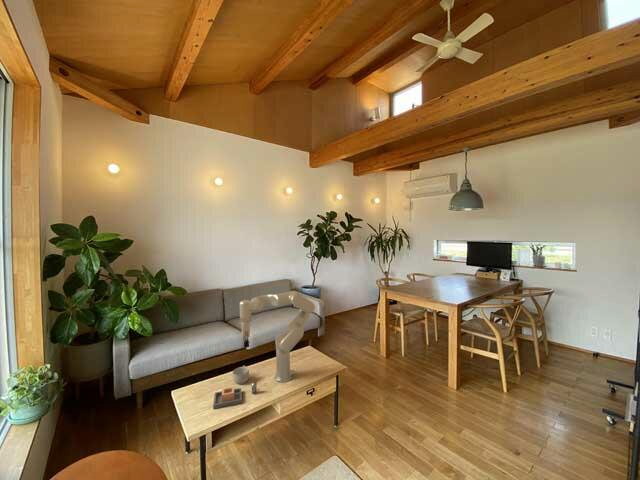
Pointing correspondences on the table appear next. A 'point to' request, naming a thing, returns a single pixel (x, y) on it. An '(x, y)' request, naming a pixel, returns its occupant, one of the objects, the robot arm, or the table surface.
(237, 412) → the table surface
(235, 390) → the tray
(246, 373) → the teacup
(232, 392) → the pink block with knob
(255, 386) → the post
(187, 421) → the table surface
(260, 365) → the table surface
